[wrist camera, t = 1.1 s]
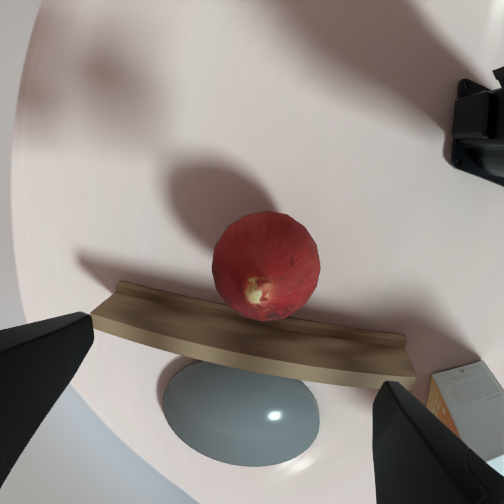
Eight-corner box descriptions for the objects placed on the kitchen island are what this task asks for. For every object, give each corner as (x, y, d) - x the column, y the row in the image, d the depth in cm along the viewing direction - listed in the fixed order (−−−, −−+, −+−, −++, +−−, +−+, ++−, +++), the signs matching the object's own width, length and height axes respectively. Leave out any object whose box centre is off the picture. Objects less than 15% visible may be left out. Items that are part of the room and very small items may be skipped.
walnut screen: (403, 334, 21) (421, 370, 17) (393, 360, 22) (407, 397, 18) (121, 280, 23) (89, 305, 19) (121, 307, 24) (92, 334, 20)
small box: (430, 371, 22) (472, 466, 12) (483, 358, 21) (536, 437, 11) (417, 431, 24) (440, 515, 14) (465, 418, 23) (497, 494, 13)
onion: (322, 281, 21) (332, 348, 13) (239, 294, 22) (210, 362, 14) (307, 195, 19) (313, 219, 12) (219, 212, 20) (173, 245, 13)
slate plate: (339, 372, 23) (340, 380, 22) (297, 467, 27) (297, 474, 26) (165, 338, 24) (161, 344, 23) (168, 440, 28) (165, 447, 27)
